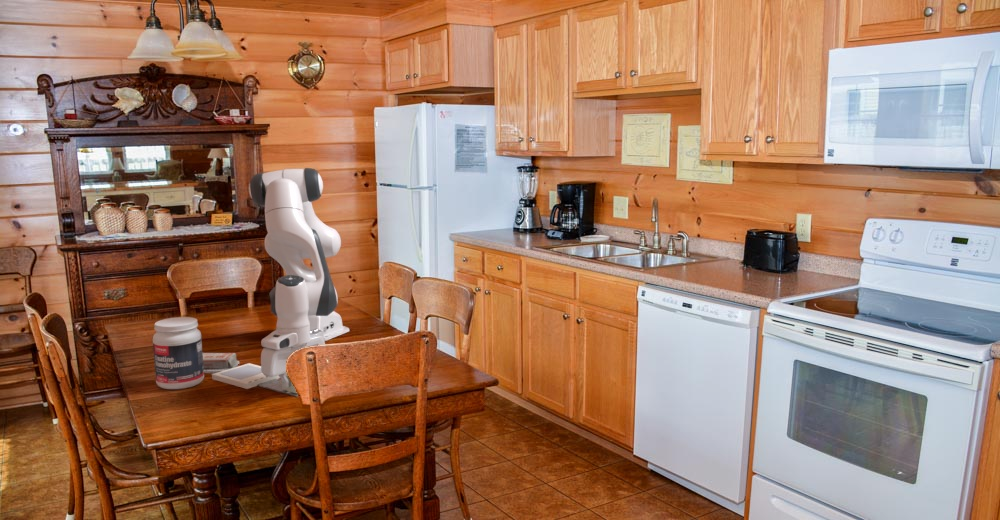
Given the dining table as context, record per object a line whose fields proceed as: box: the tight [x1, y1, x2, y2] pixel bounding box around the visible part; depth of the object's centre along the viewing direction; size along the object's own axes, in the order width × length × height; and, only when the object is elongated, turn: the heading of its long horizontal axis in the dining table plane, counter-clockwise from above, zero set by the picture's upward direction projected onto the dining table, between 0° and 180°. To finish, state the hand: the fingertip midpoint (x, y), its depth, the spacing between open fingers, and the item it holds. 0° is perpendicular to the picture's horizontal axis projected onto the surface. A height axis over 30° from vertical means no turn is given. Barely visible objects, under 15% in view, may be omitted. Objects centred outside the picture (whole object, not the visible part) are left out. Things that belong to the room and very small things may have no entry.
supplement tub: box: [152, 316, 205, 390], centre depth 217 cm, size 13×13×18 cm
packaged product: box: [202, 352, 240, 374], centre depth 233 cm, size 18×5×10 cm
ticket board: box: [211, 362, 299, 398], centre depth 218 cm, size 13×33×2 cm, turn 55°
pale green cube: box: [282, 376, 297, 393], centre depth 211 cm, size 5×6×5 cm
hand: (296, 383), depth 211 cm, fingers closed on pale green cube, 5 cm apart
